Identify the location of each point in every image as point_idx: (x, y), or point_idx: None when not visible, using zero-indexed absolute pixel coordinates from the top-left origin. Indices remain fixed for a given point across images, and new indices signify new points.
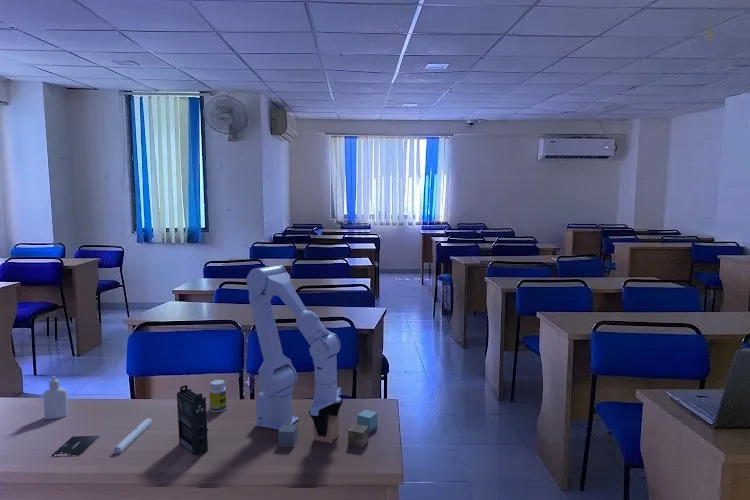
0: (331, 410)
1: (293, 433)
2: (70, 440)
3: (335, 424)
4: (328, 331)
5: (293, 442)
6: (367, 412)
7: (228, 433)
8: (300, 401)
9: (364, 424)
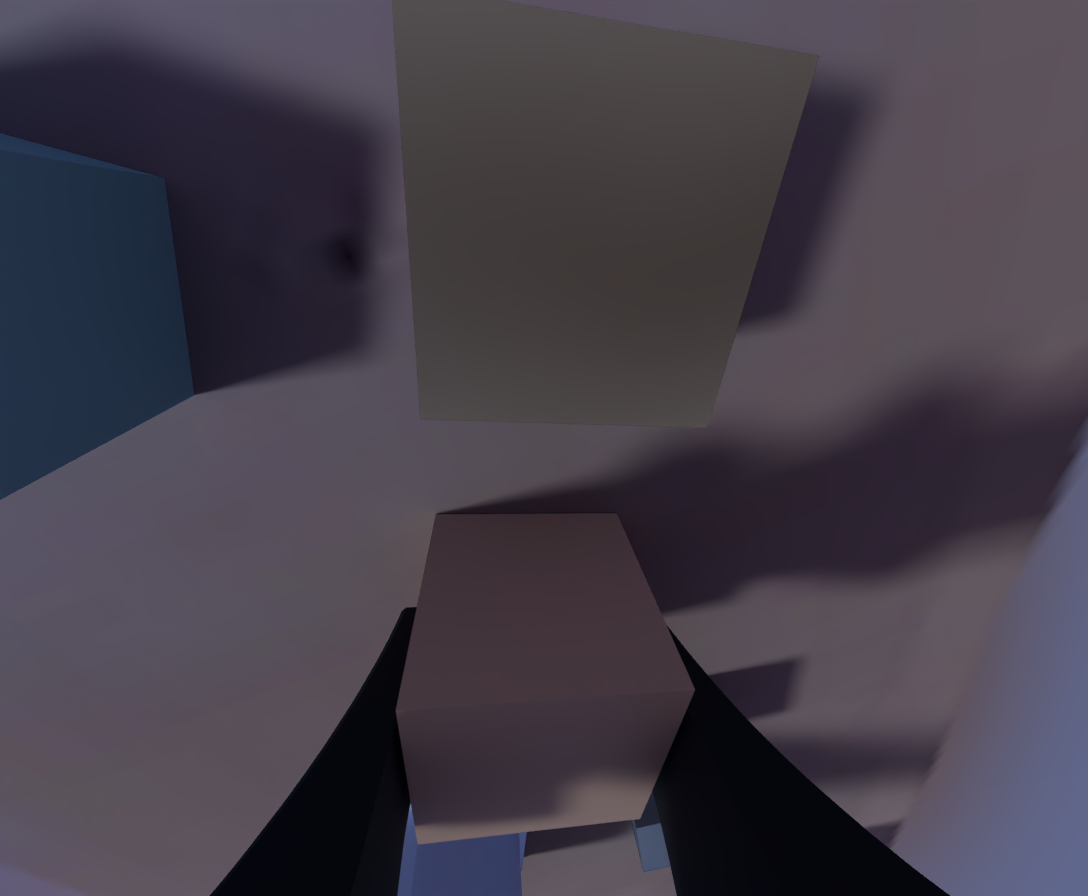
0: (381, 882)
1: None
2: None
3: (534, 636)
4: None
5: None
6: None
7: (611, 873)
8: (92, 879)
9: (100, 293)
